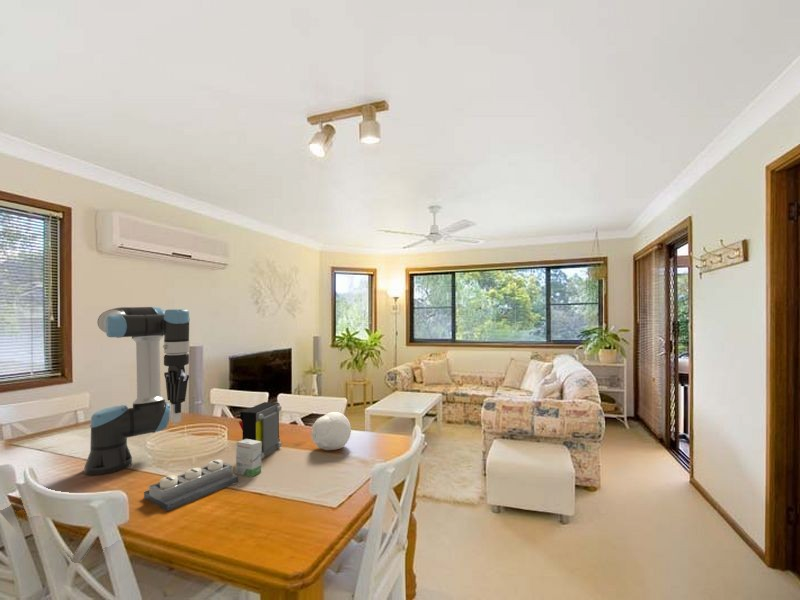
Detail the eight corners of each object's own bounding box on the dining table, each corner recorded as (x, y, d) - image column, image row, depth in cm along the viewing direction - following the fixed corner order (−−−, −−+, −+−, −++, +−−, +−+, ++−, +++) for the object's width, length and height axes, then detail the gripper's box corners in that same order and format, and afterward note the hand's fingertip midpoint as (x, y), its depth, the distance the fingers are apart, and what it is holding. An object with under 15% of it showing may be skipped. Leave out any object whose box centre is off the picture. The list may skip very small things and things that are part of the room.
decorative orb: (362, 446, 170) (362, 411, 171) (335, 460, 155) (335, 421, 156) (329, 439, 181) (329, 405, 181) (301, 451, 166) (301, 414, 166)
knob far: (204, 474, 137) (204, 462, 137) (218, 469, 141) (218, 457, 141) (212, 477, 134) (212, 465, 134) (225, 472, 138) (225, 460, 139)
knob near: (156, 492, 124) (156, 478, 124) (172, 486, 128) (172, 473, 128) (164, 496, 121) (164, 482, 121) (180, 489, 125) (180, 476, 125)
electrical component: (260, 462, 154) (260, 413, 155) (238, 460, 157) (238, 411, 157) (283, 447, 171) (283, 402, 172) (263, 445, 174) (263, 402, 174)
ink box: (235, 473, 144) (235, 442, 144) (246, 468, 149) (245, 437, 149) (251, 477, 140) (251, 445, 141) (262, 471, 145) (262, 440, 145)
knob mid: (182, 483, 130) (182, 470, 130) (196, 477, 134) (196, 465, 135) (189, 486, 128) (189, 474, 128) (204, 481, 132) (204, 468, 132)
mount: (143, 498, 125) (143, 482, 126) (214, 472, 145) (214, 458, 146) (167, 511, 116) (167, 495, 117) (238, 481, 137) (238, 467, 137)
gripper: (156, 353, 132) (155, 421, 131) (174, 356, 124) (173, 428, 124) (178, 351, 138) (178, 416, 137) (197, 353, 130) (196, 422, 130)
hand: (175, 421), depth 131 cm, fingers closed
